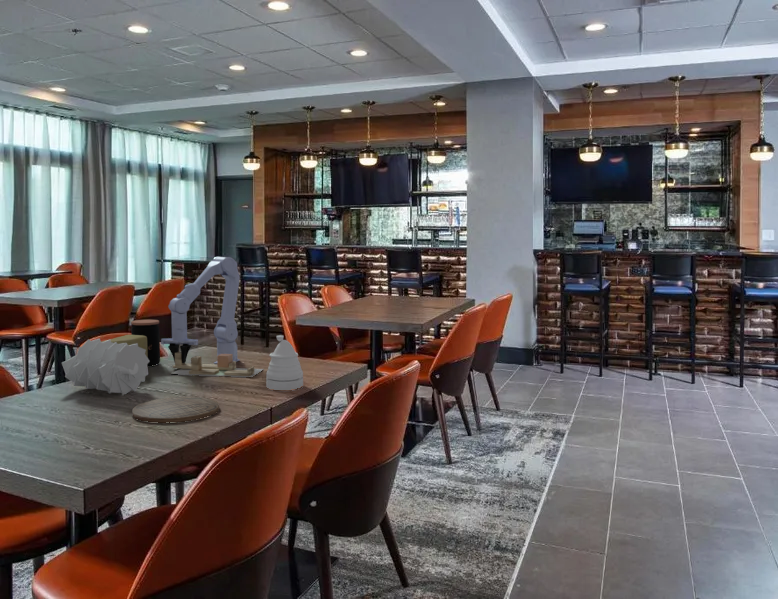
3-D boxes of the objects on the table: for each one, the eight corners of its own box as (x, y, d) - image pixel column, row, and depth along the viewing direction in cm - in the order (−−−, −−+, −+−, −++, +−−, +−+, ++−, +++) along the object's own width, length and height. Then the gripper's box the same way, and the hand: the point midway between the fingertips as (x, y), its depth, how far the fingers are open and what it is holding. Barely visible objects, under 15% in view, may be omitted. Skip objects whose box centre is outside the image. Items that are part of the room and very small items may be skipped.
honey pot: (258, 388, 229) (258, 337, 227) (281, 381, 240) (280, 332, 238) (288, 392, 223) (288, 340, 221) (310, 385, 234) (310, 335, 232)
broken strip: (194, 371, 254) (194, 355, 253) (254, 373, 251) (254, 357, 250) (188, 373, 249) (188, 358, 248) (250, 376, 246) (249, 360, 245)
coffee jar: (126, 366, 264) (125, 322, 262) (143, 361, 274) (142, 319, 272) (149, 368, 260) (147, 323, 259) (165, 363, 271) (164, 320, 269)
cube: (221, 364, 260) (221, 353, 259) (232, 365, 259) (232, 354, 259) (217, 367, 255) (217, 355, 255) (228, 367, 255) (228, 356, 254)
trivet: (118, 412, 198) (118, 406, 198) (194, 398, 215) (194, 392, 215) (155, 430, 180) (155, 423, 180) (235, 413, 198) (234, 407, 197)
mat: (186, 367, 263) (186, 366, 263) (263, 370, 259) (263, 368, 259) (170, 374, 249) (170, 373, 249) (252, 377, 245) (252, 376, 245)
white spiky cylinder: (95, 396, 232) (146, 401, 221) (52, 383, 217) (105, 388, 206) (110, 346, 238) (161, 349, 226) (70, 331, 223) (122, 333, 212)
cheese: (109, 385, 231) (108, 343, 229) (86, 383, 233) (85, 342, 232) (149, 373, 252) (148, 334, 250) (127, 371, 254) (126, 333, 253)
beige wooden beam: (178, 365, 262) (177, 350, 262) (236, 367, 259) (235, 352, 259) (172, 368, 257) (172, 353, 257) (231, 370, 254) (231, 355, 254)
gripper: (157, 329, 255) (157, 363, 256) (192, 330, 253) (193, 365, 254) (165, 326, 262) (166, 360, 263) (200, 327, 260) (200, 361, 261)
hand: (180, 362), depth 259 cm, fingers closed on beige wooden beam, 2 cm apart
